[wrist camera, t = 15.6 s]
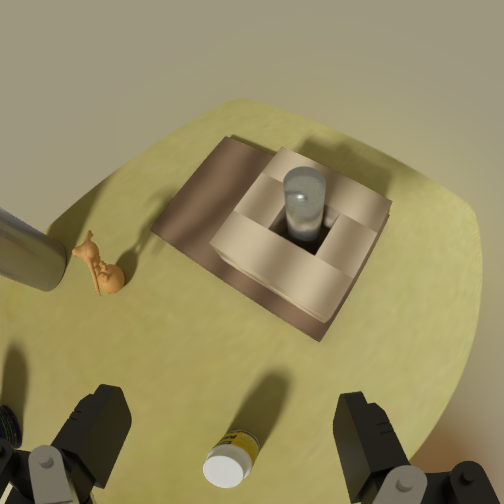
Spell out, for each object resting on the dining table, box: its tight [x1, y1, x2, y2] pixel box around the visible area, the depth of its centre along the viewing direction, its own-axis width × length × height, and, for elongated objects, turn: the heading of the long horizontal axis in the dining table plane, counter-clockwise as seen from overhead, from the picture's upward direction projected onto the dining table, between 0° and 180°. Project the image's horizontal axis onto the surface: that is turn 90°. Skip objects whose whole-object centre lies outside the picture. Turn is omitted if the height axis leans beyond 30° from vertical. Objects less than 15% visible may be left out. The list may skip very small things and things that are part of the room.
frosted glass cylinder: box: [283, 166, 326, 254], centre depth 28 cm, size 3×3×13 cm
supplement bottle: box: [203, 430, 260, 488], centre depth 24 cm, size 5×5×8 cm
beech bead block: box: [210, 147, 392, 323], centre depth 31 cm, size 14×14×6 cm
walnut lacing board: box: [150, 136, 390, 342], centre depth 36 cm, size 26×18×2 cm
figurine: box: [72, 230, 125, 296], centre depth 32 cm, size 8×6×12 cm
